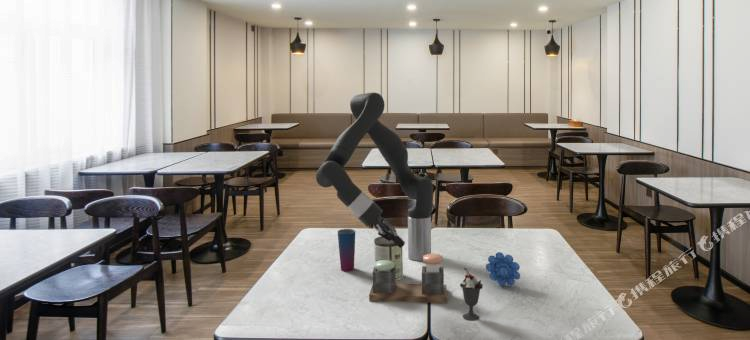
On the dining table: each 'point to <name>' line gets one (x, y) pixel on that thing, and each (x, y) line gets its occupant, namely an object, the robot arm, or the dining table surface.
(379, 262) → the button
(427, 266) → the button
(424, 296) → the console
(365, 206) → the robot arm
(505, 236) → the dining table surface
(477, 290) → the sundae
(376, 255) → the coffee can
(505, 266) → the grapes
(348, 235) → the cup
